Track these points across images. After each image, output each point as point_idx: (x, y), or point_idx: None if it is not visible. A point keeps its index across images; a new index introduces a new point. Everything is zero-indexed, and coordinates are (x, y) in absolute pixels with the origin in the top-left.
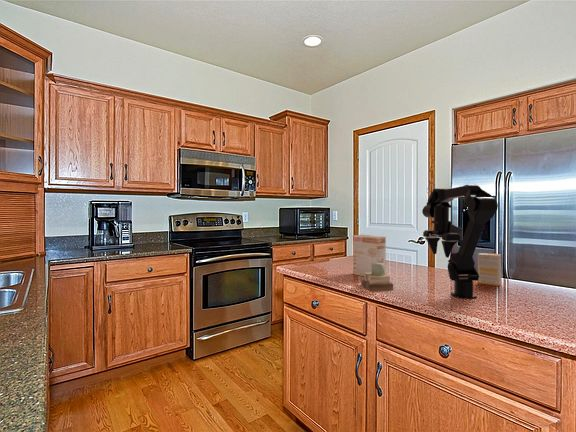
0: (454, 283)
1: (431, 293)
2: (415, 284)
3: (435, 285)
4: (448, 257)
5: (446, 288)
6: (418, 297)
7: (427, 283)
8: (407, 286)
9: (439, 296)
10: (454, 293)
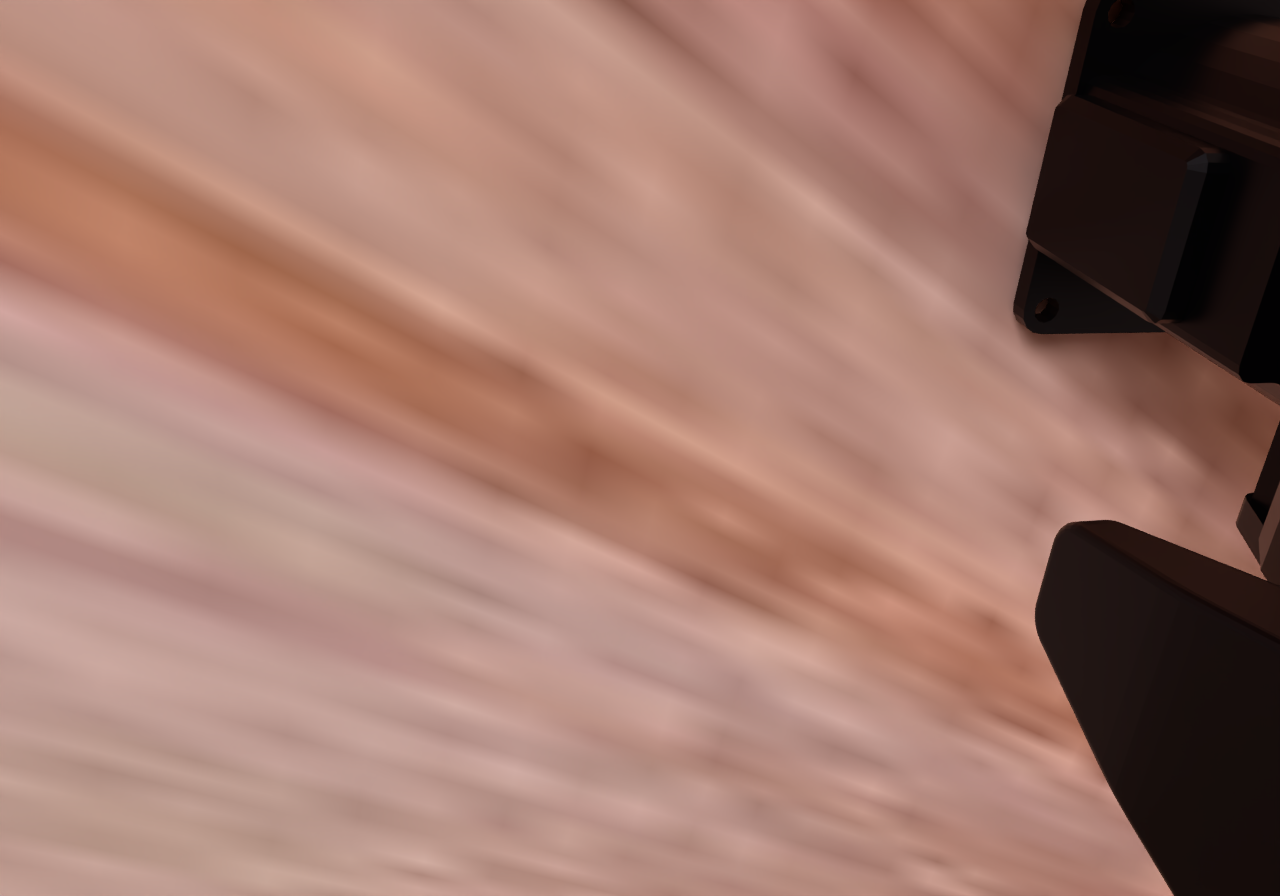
0: (1136, 312)
1: (844, 591)
2: (124, 593)
3: (263, 203)
4: (1099, 533)
5: (591, 112)
6: (959, 830)
7: (19, 287)
8: (294, 782)
9: (1030, 554)
10: (1085, 288)
